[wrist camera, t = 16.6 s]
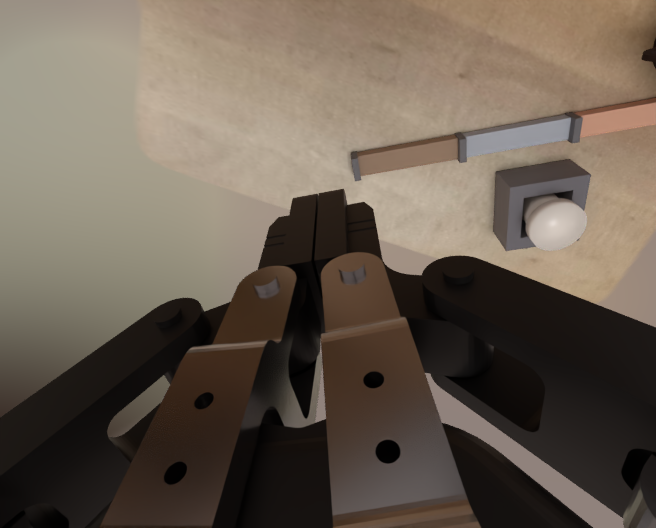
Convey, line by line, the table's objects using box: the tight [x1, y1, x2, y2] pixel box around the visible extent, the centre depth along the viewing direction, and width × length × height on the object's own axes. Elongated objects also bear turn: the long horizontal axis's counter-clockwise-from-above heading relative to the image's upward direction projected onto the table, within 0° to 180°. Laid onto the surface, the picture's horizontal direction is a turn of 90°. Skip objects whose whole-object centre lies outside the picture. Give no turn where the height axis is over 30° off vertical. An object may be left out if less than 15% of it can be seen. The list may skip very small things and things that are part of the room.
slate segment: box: [455, 114, 571, 163], centre depth 37 cm, size 2×10×2 cm, turn 101°
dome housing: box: [493, 159, 591, 251], centre depth 40 cm, size 7×7×4 cm
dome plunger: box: [522, 193, 587, 251], centre depth 38 cm, size 5×5×6 cm
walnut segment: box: [351, 135, 458, 181], centre depth 38 cm, size 2×10×2 cm, turn 101°
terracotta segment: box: [565, 98, 656, 143], centre depth 36 cm, size 2×10×2 cm, turn 101°
